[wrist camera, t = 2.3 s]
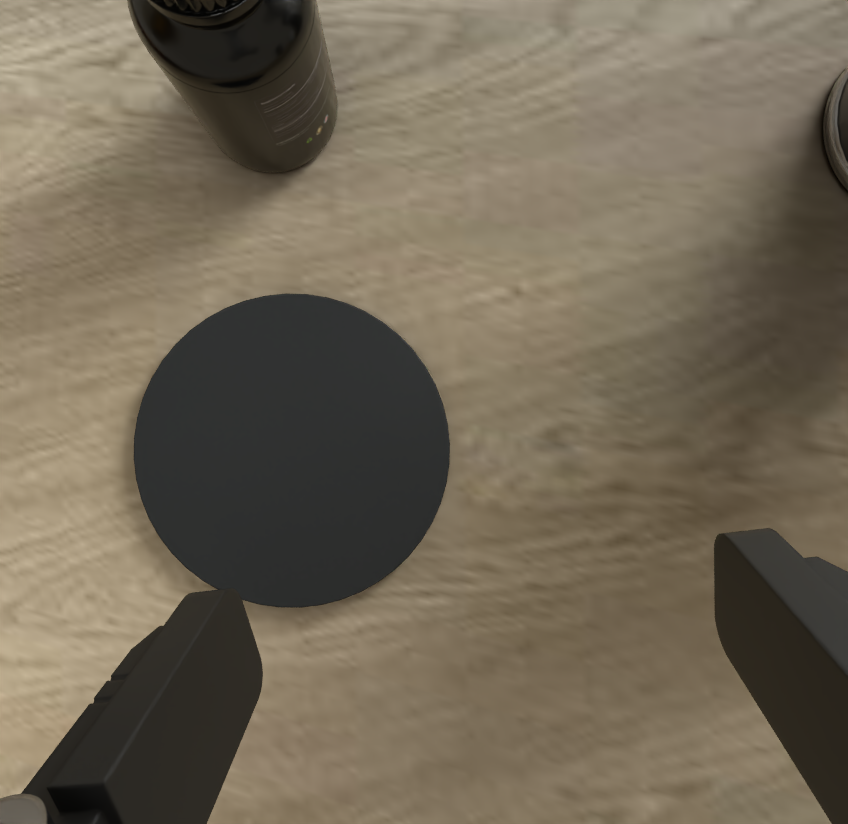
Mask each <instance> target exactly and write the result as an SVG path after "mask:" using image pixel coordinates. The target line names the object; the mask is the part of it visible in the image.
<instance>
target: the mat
mask: <svg viewBox="0 0 848 824" xmlns="http://www.w3.org/2000/svg"><path fill="white" fill-rule="evenodd" d="M449 453H450V442H449V433H448V424H447V419H446V415H445V411H444V407H443V403H442V401H441V398H440V396H439V393H438V390H437V388H436V385H435V383H434V381H433V380H432V378H431V376H430V374H429V372H428V370H427V369H426V367H425V365H424V364H423V363H422V361H421V360H420V359H419V357H418V356H417V354H416V353H415V352H414V350H413V349H412V348H411V347H410V346H409V345H408V344H407V343H406V342H405V341H404V340H403V339H402V338H401V337H400V336H399V335H398V334H397V333H396V332H394V331H393V330H392V329H391V328H389V327H388V326H387V325H386V324H384V323H383V322H382V321H380V320H378V319H377V318H375V317H373V316H372V315H370V314H368V313H367V312H365V311H363V310H361V309H358V308H356V307H354V306H352V305H349V304H347V303H344V302H340V301H337V300H334V299H330V298H327V297H320V296H314V295H308V294H279V295H269V296H263V297H259V298H254V299H250V300H246V301H243V302H240V303H238V304H235V305H233V306H230V307H227V308H225V309H223V310H221V311H219V312H218V313H216V314H214V315H212V316H210V317H208V318H207V319H205V320H204V321H203V322H201V323H200V324H198V325H197V326H196V327H194V328H193V329H192V330H190V331H189V332H188V333H187V334H186V335H185V336H184V337H183V338H182V339H181V340H180V341H179V342H178V343H176V344H175V346H174V347H173V348H172V349H171V351H170V352H169V353H168V354H167V356H166V357H165V358H164V359H163V360H162V362H161V364H160V365H159V367H158V369H157V370H156V372H155V374H154V375H153V377H152V378H151V381H150V383H149V385H148V387H147V390H146V392H145V394H144V397H143V399H142V403H141V406H140V410H139V413H138V417H137V423H136V429H135V436H134V464H135V473H136V480H137V484H138V488H139V492H140V496H141V500H142V502H143V505H144V507H145V510H146V512H147V515H148V517H149V519H150V521H151V523H152V525H153V526H154V528H155V530H156V532H157V533H158V535H159V537H160V538H161V539H162V541H163V542H164V543H165V545H166V546H167V547H168V549H169V550H170V551H171V553H172V554H173V555H174V556H175V557H176V558H177V559H178V560H179V561H180V562H181V563H182V564H183V565H184V566H185V567H186V568H187V569H189V570H190V571H191V572H192V573H194V574H195V575H196V576H197V577H199V578H200V579H201V580H203V581H204V582H206V583H208V584H210V585H211V586H213V587H215V588H216V589H218V590H220V589H229V588H233V589H235V590H236V591H237V592H238V593H239V594H240V596H241V599H242V600H245V601H249V602H253V603H256V604H260V605H267V606H275V607H308V606H316V605H323V604H327V603H331V602H334V601H338V600H342V599H344V598H347V597H349V596H352V595H354V594H357V593H359V592H361V591H363V590H365V589H367V588H368V587H370V586H372V585H374V584H376V583H377V582H379V581H380V580H382V579H383V578H384V577H386V576H387V575H388V574H390V573H391V572H392V571H394V570H395V569H396V568H397V567H398V566H399V565H400V564H401V563H402V562H403V561H404V560H405V559H406V558H407V557H408V556H409V555H410V554H411V553H412V551H413V550H414V549H415V548H416V546H417V545H418V544H419V543H420V541H421V540H422V539H423V537H424V535H425V534H426V532H427V530H428V529H429V527H430V525H431V524H432V522H433V520H434V517H435V515H436V513H437V511H438V508H439V506H440V504H441V500H442V497H443V493H444V490H445V486H446V482H447V476H448V469H449Z"/></svg>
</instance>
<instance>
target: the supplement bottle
mask: <svg viewBox="0 0 848 824" xmlns="http://www.w3.org/2000/svg"><path fill="white" fill-rule="evenodd" d="M127 2H128V8H129V11H130V15H131V18H132V21H133V24H134V26H135V29H136V31H137V33H138V35H139V37H140V38H141V40H142V42H143V43H144V45H145V47H146V48H147V50H148V51H149V53H150V54H151V56H152V57H153V58H154V60H155V61H156V63H157V64H158V65H159V67H160V68H161V69H162V71H163V72H164V73H165V75H166V76H167V78H168V79H169V80H170V82H171V83H172V84H173V86H174V87H175V89H176V90H177V91H178V93H179V94H180V95H181V97H182V98H183V100H184V101H185V102H186V104H187V105H188V106H189V108H190V109H191V110H192V112H193V113H194V115H195V116H196V117H197V119H198V120H199V121H200V123H201V124H202V126H203V127H204V128H205V130H206V131H207V132H208V134H209V135H210V136H211V138H212V139H213V140H214V142H215V143H216V144H217V145H218V146H219V148H220V149H221V150H222V151H223V152H224V153H225V154H226V155H228V156H229V157H230V158H231V159H233V160H234V161H236V162H237V163H239V164H241V165H243V166H245V167H247V168H250V169H253V170H257V171H261V172H271V173H273V172H284V171H289V170H292V169H295V168H298V167H300V166H302V165H304V164H305V163H307V162H309V161H310V160H311V159H313V158H314V157H315V156H316V155H317V154H318V153H319V152H320V151H321V150H322V149H323V147H324V146H325V145H326V143H327V142H328V140H329V138H330V136H331V134H332V131H333V128H334V125H335V121H336V116H337V97H336V90H335V85H334V80H333V75H332V70H331V66H330V61H329V57H328V52H327V47H326V43H325V38H324V34H323V29H322V24H321V20H320V15H319V11H318V6H317V1H316V0H127Z"/></svg>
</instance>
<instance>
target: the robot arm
mask: <svg viewBox="0 0 848 824" xmlns="http://www.w3.org/2000/svg"><path fill="white" fill-rule="evenodd" d="M823 135H824V143H825V148H826V152H827V156H828V159H829V162H830V164H831V166H832V168H833V170H834V172H835V174H836V176H837V177H838V179H839V180H840V182H841V183H842V184H843V186H844V187H845V188H846V189H847V190H848V67H847V68H846V69H845V70H844V71H843V72H842V74H841V75H840V77H839V78H838V79H837V81H836V83H835V85H834V86H833V88H832V91H831V93H830V95H829V98H828V101H827V104H826V108H825V113H824V121H823ZM714 587H715V621H716V627H717V631H718V635H719V638H720V641H721V644H722V646H723V649H724V651H725V653H726V655H727V657H728V658H729V660H730V662H731V663H732V665H733V666H734V668H735V670H736V671H737V673H738V674H739V676H740V677H741V679H742V681H743V682H744V684H745V685H746V687H747V689H748V690H749V692H750V693H751V695H752V697H753V698H754V700H755V701H756V703H757V705H758V706H759V708H760V709H761V711H762V713H763V714H764V716H765V717H766V719H767V721H768V722H769V724H770V725H771V727H772V729H773V730H774V732H775V733H776V735H777V737H778V738H779V740H780V741H781V743H782V745H783V746H784V748H785V749H786V751H787V753H788V754H789V756H790V757H791V759H792V761H793V762H794V764H795V765H796V767H797V769H798V770H799V772H800V773H801V775H802V777H803V778H804V780H805V781H806V783H807V785H808V786H809V788H810V789H811V791H812V793H813V794H814V796H815V797H816V799H817V801H818V802H819V804H820V805H821V807H822V809H823V810H824V812H825V813H826V815H827V817H828V818H829V820H830V821H831V823H832V824H848V572H847V571H845V570H843V569H841V568H839V567H837V566H835V565H833V564H831V563H829V562H827V561H825V560H823V559H821V558H819V557H809V558H803V557H802V556H801V555H800V554H799V553H798V552H797V551H796V550H795V549H794V548H793V547H792V546H791V545H790V544H789V543H788V542H787V541H786V540H784V539H783V538H782V537H781V536H780V535H779V534H778V533H777V532H776V531H775V530H773V529H770V528H766V529H757V530H748V531H739V532H731V533H722V534H718V535H717V537H716V539H715V544H714ZM262 677H263V671H262V662H261V657H260V654H259V651H258V648H257V645H256V642H255V639H254V635H253V632H252V629H251V626H250V623H249V620H248V617H247V614H246V611H245V608H244V605H243V602H242V599H241V596H240V594H239V593H238V592H237V591H236V590H235V589H233V588H229V589H220V590H212V591H203V592H194V593H190V594H188V595H186V596H185V597H184V599H183V600H182V601H181V603H180V604H179V605H178V607H177V608H176V610H175V611H174V612H173V614H172V615H171V616H170V618H169V619H168V621H167V622H166V623H165V625H164V626H159V627H158V628H157V629H155V630H154V631H153V632H152V633H151V634H149V635H148V636H147V637H146V638H145V639H143V640H142V641H141V642H140V643H138V644H137V645H136V646H135V647H134V648H132V649H131V650H130V652H129V653H128V654H127V656H126V657H125V658H124V660H123V661H122V662H121V663H120V665H119V666H118V667H117V669H116V670H115V671H114V673H113V674H112V675H111V681H107V682H106V683H105V684H104V686H103V687H102V688H101V690H100V691H99V692H98V694H97V695H96V696H95V698H94V703H93V704H89V705H88V707H87V708H86V709H85V711H84V712H83V713H82V715H81V716H80V717H79V718H78V720H77V721H76V722H75V724H74V725H73V726H72V728H71V729H70V730H69V732H68V733H67V734H66V735H65V737H64V738H63V739H62V741H61V742H60V743H59V745H58V746H57V747H56V749H55V750H54V751H53V753H52V754H51V755H50V756H49V758H48V759H47V760H46V762H45V763H44V764H43V766H42V767H41V768H40V770H39V771H38V772H37V773H36V775H35V776H34V777H33V779H32V780H31V781H30V783H29V784H28V785H27V787H26V788H25V789H24V791H23V792H22V793H21V794H17V795H11V796H8V797H4V798H1V799H0V824H207V821H208V819H209V816H210V814H211V812H212V809H213V807H214V804H215V802H216V800H217V797H218V795H219V792H220V790H221V788H222V785H223V783H224V780H225V778H226V776H227V773H228V771H229V768H230V766H231V764H232V761H233V759H234V756H235V754H236V752H237V749H238V747H239V744H240V742H241V740H242V737H243V735H244V732H245V730H246V728H247V725H248V723H249V720H250V718H251V716H252V713H253V711H254V708H255V706H256V704H257V701H258V699H259V696H260V692H261V687H262Z"/></svg>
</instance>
